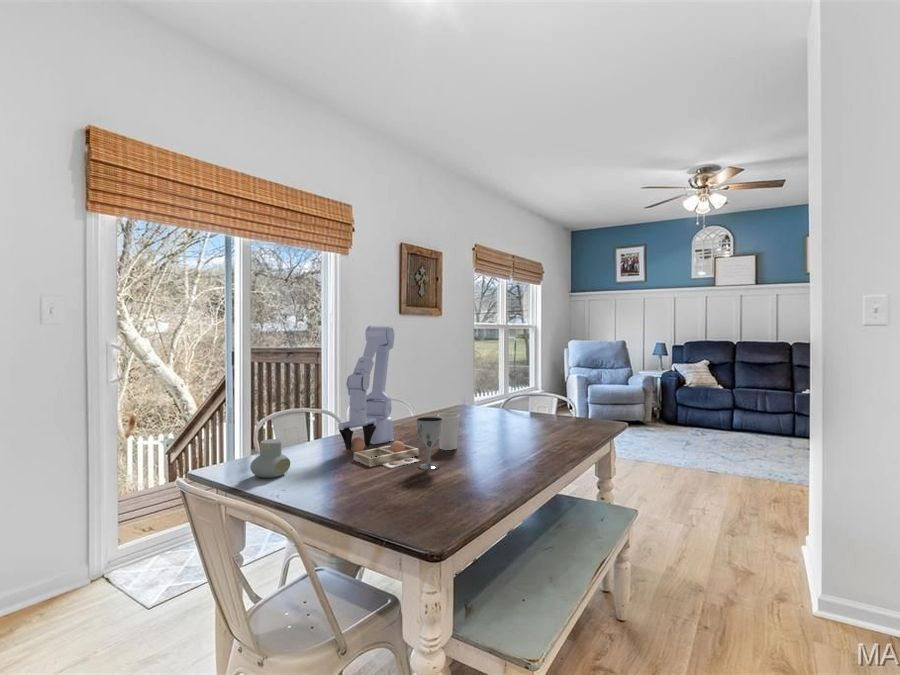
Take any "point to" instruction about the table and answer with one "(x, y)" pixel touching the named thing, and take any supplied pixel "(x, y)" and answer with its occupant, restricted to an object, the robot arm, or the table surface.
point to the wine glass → (429, 435)
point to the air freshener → (270, 460)
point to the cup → (449, 431)
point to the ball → (397, 447)
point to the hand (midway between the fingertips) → (357, 447)
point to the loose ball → (357, 444)
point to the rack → (387, 457)
